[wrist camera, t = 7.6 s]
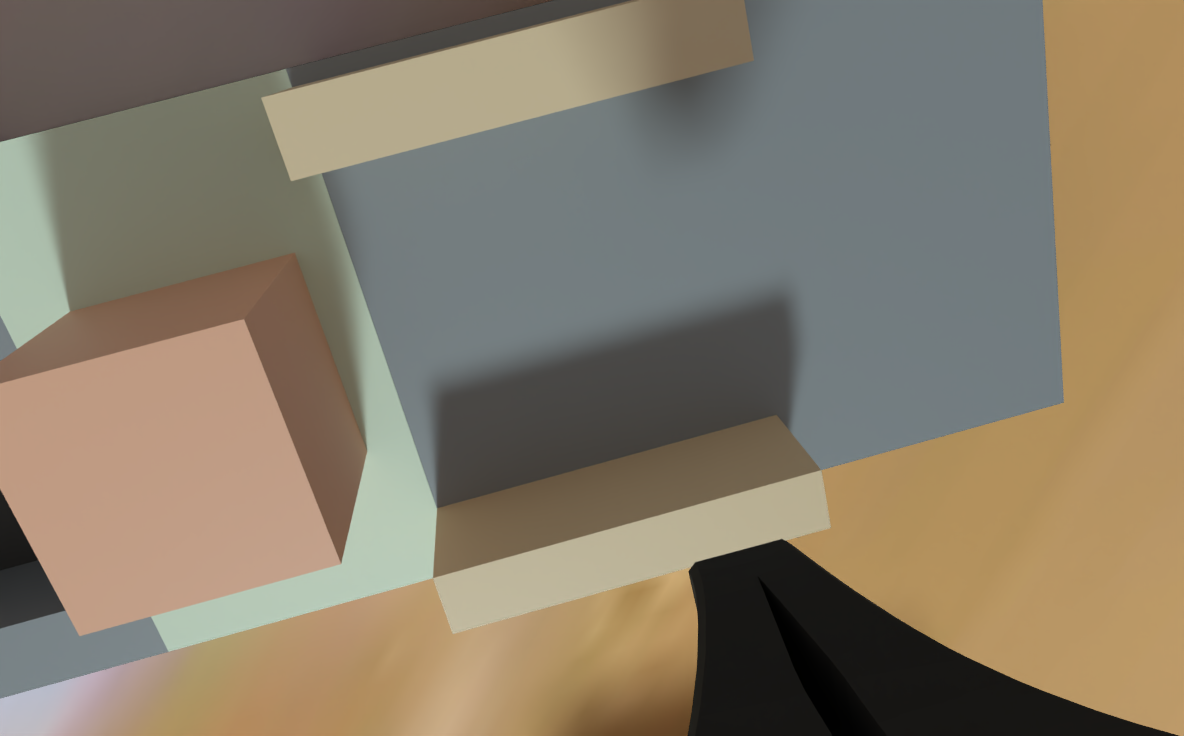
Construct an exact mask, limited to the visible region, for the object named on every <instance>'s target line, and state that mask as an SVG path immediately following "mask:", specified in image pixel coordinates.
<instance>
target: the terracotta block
mask: <svg viewBox="0 0 1184 736" xmlns="http://www.w3.org/2000/svg"><path fill="white" fill-rule="evenodd" d="M366 455H367V449H366V447H365V444H364V441H363V438H362V436H361V433H360V430H359V427H358V425H357V422H356V419H355V416H354V414H353V411H352V408H351V405H350V403H349V400H348V397H347V395H346V392H345V389H344V386H343V384H342V381H341V378H340V375H339V373H338V370H337V367H336V364H335V362H334V359H333V356H332V353H331V351H330V348H329V345H328V342H327V340H326V337H325V334H324V332H323V329H322V326H321V323H320V321H319V318H318V315H317V312H316V310H315V307H314V304H313V301H312V299H311V296H310V293H309V290H308V288H307V285H306V282H305V279H304V277H303V274H302V271H301V269H300V266H299V263H298V260H297V258H296V255H295V253H292V254H288V255H284V256H280V257H276V258H273V259H269V260H265V261H261V262H257V263H253V264H250V265H246V266H242V267H238V268H234V269H231V270H227V271H223V272H219V273H215V274H211V275H208V276H204V277H200V278H196V279H192V280H189V281H185V282H181V283H177V284H173V285H170V286H166V287H162V288H158V289H154V290H150V291H147V292H143V293H139V294H135V295H131V296H128V297H124V298H120V299H116V300H112V301H108V302H105V303H101V304H97V305H93V306H89V307H86V308H82V309H78V310H74V311H70V312H69V313H67V314H66V315H64V316H63V317H62V318H60V319H59V320H57V321H56V322H55V323H53V324H52V325H50V326H49V327H48V328H46V329H45V330H43V331H42V332H40V333H39V334H38V335H36V336H35V337H33V338H32V339H31V340H29V341H28V342H26V343H25V344H24V345H22V346H21V347H19V348H18V349H17V350H15V351H14V352H12V353H11V354H10V355H8V356H7V357H5V358H4V359H3V360H1V361H0V490H1V491H2V493H3V495H4V497H5V499H6V501H7V503H8V504H9V506H10V508H11V510H12V512H13V514H14V516H15V517H16V519H17V521H18V523H19V525H20V527H21V529H22V530H23V532H24V534H25V536H26V538H27V540H28V542H29V543H30V545H31V547H32V549H33V551H34V553H35V555H36V556H37V558H38V560H39V562H40V564H41V566H42V568H43V569H44V571H45V573H46V575H47V577H48V579H49V581H50V582H51V584H52V586H53V588H54V590H55V592H56V594H57V595H58V597H59V599H60V601H61V603H62V605H63V607H64V608H65V610H66V612H67V614H68V616H69V618H70V620H71V621H72V623H73V625H74V627H75V629H76V631H77V633H78V634H79V636H82V635H86V634H89V633H93V632H97V631H100V630H104V629H107V628H111V627H115V626H118V625H122V624H126V623H129V622H133V621H136V620H140V619H144V618H147V617H151V616H155V615H158V614H162V613H166V612H169V611H173V610H176V609H180V608H184V607H187V606H191V605H195V604H198V603H202V602H205V601H209V600H213V599H216V598H220V597H224V596H227V595H231V594H234V593H238V592H242V591H245V590H249V589H253V588H256V587H260V586H264V585H267V584H271V583H274V582H278V581H282V580H285V579H289V578H293V577H296V576H300V575H303V574H307V573H311V572H314V571H318V570H322V569H325V568H329V567H333V566H336V565H340V564H341V563H342V558H343V554H344V550H345V545H346V541H347V537H348V532H349V528H350V524H351V520H352V515H353V511H354V507H355V502H356V498H357V494H358V489H359V485H360V481H361V476H362V472H363V468H364V464H365V459H366Z"/></svg>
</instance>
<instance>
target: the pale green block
mask: <svg viewBox="0 0 1184 736" xmlns="http://www.w3.org/2000/svg"><path fill="white" fill-rule="evenodd" d="M289 88H292V85H291V83H290V80H289V77H288V74H287V71H286V69H284V70H280V71H276V72H272V73H268V74H264V75H260V76H256V77H252V78H248V79H244V80H241V81H237V82H233V83H229V84H225V85H221V86H217V87H213V88H209V89H205V90H202V91H198V92H194V93H190V94H186V95H182V96H178V97H174V98H170V99H166V100H162V101H159V102H155V103H151V104H147V105H143V106H139V107H135V108H131V109H127V110H123V111H119V112H116V113H112V114H108V115H104V116H100V117H96V118H92V119H88V120H84V121H80V122H76V123H73V124H69V125H65V126H61V127H57V128H53V129H49V130H45V131H41V132H37V133H33V134H30V135H26V136H22V137H18V138H14V139H10V140H6V141H2V142H0V316H1V318H2V320H3V322H4V324H5V326H6V328H7V330H8V332H9V334H10V336H11V338H12V340H13V342H14V344H15V346H16V348H17V349H18V348H19V347H21V346H22V345H24V344H25V343H26V342H28V341H29V340H31V339H32V338H33V337H35V336H36V335H38V334H39V333H40V332H42V331H43V330H45V329H46V328H48V327H49V326H50V325H52V324H53V323H55V322H56V321H57V320H59V319H60V318H62V317H63V316H64V315H66V314H67V313H69V312H70V311H74V310H78V309H82V308H86V307H89V306H93V305H97V304H101V303H105V302H108V301H112V300H116V299H120V298H124V297H128V296H131V295H135V294H139V293H143V292H147V291H150V290H154V289H158V288H162V287H166V286H170V285H173V284H177V283H181V282H185V281H189V280H192V279H196V278H200V277H204V276H208V275H211V274H215V273H219V272H223V271H227V270H231V269H234V268H238V267H242V266H246V265H250V264H253V263H257V262H261V261H265V260H269V259H273V258H276V257H280V256H284V255H288V254H292V253H295V255H296V258H297V260H298V263H299V266H300V269H301V271H302V274H303V277H304V279H305V282H306V285H307V288H308V290H309V293H310V296H311V299H312V301H313V304H314V307H315V310H316V312H317V315H318V318H319V321H320V323H321V326H322V329H323V332H324V334H325V337H326V340H327V342H328V345H329V348H330V351H331V353H332V356H333V359H334V362H335V364H336V367H337V370H338V373H339V375H340V378H341V381H342V384H343V386H344V389H345V392H346V395H347V397H348V400H349V403H350V405H351V408H352V411H353V414H354V416H355V419H356V422H357V425H358V427H359V430H360V433H361V436H362V438H363V441H364V444H365V447H366V449H367V455H366V459H365V464H364V468H363V472H362V476H361V481H360V485H359V489H358V494H357V498H356V502H355V507H354V511H353V515H352V520H351V524H350V528H349V532H348V537H347V541H346V545H345V550H344V554H343V558H342V563H341V564H340V565H336V566H333V567H329V568H325V569H322V570H318V571H314V572H311V573H307V574H303V575H300V576H296V577H293V578H289V579H285V580H282V581H278V582H274V583H271V584H267V585H264V586H260V587H256V588H253V589H249V590H245V591H242V592H238V593H234V594H231V595H227V596H224V597H220V598H216V599H213V600H209V601H205V602H202V603H198V604H195V605H191V606H187V607H184V608H180V609H176V610H173V611H169V612H166V613H162V614H158V615H155V616H151V618H152V620H153V622H154V624H155V626H156V628H157V630H158V632H159V634H160V636H161V638H162V640H163V642H164V644H165V646H166V648H167V650H168V652H169V651H173V650H176V649H180V648H184V647H187V646H191V645H194V644H198V643H201V642H205V641H209V640H212V639H216V638H219V637H223V636H227V635H230V634H234V633H237V632H241V631H245V630H248V629H252V628H255V627H259V626H263V625H266V624H270V623H273V622H277V621H281V620H284V619H288V618H291V617H295V616H299V615H302V614H306V613H309V612H313V611H316V610H320V609H324V608H327V607H331V606H334V605H338V604H342V603H345V602H349V601H352V600H356V599H360V598H363V597H367V596H370V595H374V594H378V593H381V592H385V591H388V590H392V589H396V588H399V587H403V586H406V585H410V584H414V583H417V582H421V581H424V580H428V579H431V578H433V568H434V551H435V534H436V517H437V507H436V504H435V501H434V498H433V495H432V492H431V489H430V487H429V484H428V481H427V478H426V475H425V472H424V469H423V466H422V463H421V460H420V457H419V455H418V452H417V449H416V446H415V443H414V440H413V437H412V434H411V431H410V428H409V425H408V423H407V420H406V417H405V414H404V411H403V408H402V405H401V402H400V399H399V396H398V393H397V391H396V388H395V385H394V382H393V379H392V376H391V373H390V370H389V367H388V364H387V362H386V359H385V356H384V353H383V350H382V347H381V344H380V341H379V338H378V335H377V332H376V330H375V327H374V324H373V321H372V318H371V315H370V312H369V309H368V306H367V303H366V300H365V298H364V295H363V292H362V289H361V286H360V283H359V280H358V277H357V274H356V271H355V269H354V266H353V263H352V260H351V257H350V254H349V251H348V248H347V245H346V242H345V239H344V237H343V234H342V231H341V228H340V225H339V222H338V219H337V216H336V213H335V210H334V207H333V205H332V202H331V199H330V196H329V193H328V190H327V187H326V184H325V181H324V178H323V176H322V173H321V174H317V175H313V176H309V177H305V178H302V179H298V180H294V181H291V180H290V177H289V174H288V171H287V169H286V166H285V163H284V160H283V157H282V155H281V152H280V149H279V146H278V143H277V141H276V138H275V135H274V132H273V129H272V127H271V124H270V121H269V118H268V115H267V113H266V110H265V107H264V104H263V101H262V99H261V98H262V97H265V96H268V95H271V94H274V93H277V92H280V91H283V90H286V89H289Z"/></svg>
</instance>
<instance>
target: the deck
mask: <svg viewBox="0 0 1184 736" xmlns="http://www.w3.org/2000/svg"><path fill="white" fill-rule="evenodd" d="M286 71H287V74H288V77H289V80H290V83H291V85H292V88H289V89H286V90H283V91H280V92H277V93H274V94H271V95H268V96H265V97H262V98H261V99H262V101H263V104H264V107H265V110H266V113H267V115H268V118H269V121H270V124H271V127H272V129H273V132H274V135H275V138H276V141H277V143H278V146H279V149H280V152H281V155H282V157H283V160H284V163H285V166H286V169H287V171H288V174H289V177H290V180H291V181H294V180H298V179H302V178H305V177H309V176H313V175H317V174H321V173H322V176H323V178H324V181H325V184H326V187H327V190H328V193H329V196H330V199H331V202H332V205H333V207H334V210H335V213H336V216H337V219H338V222H339V225H340V228H341V231H342V234H343V237H344V239H345V242H346V245H347V248H348V251H349V254H350V257H351V260H352V263H353V266H354V269H355V271H356V274H357V277H358V280H359V283H360V286H361V289H362V292H363V295H364V298H365V300H366V303H367V306H368V309H369V312H370V315H371V318H372V321H373V324H374V327H375V330H376V332H377V335H378V338H379V341H380V344H381V347H382V350H383V353H384V356H385V359H386V362H387V364H388V367H389V370H390V373H391V376H392V379H393V382H394V385H395V388H396V391H397V393H398V396H399V399H400V402H401V405H402V408H403V411H404V414H405V417H406V420H407V423H408V425H409V428H410V431H411V434H412V437H413V440H414V443H415V446H416V449H417V452H418V455H419V457H420V460H421V463H422V466H423V469H424V472H425V475H426V478H427V481H428V484H429V487H430V489H431V492H432V495H433V498H434V501H435V504H436V507H437V517H436V534H435V551H434V568H433V580H434V583H435V585H436V588H437V591H438V594H439V597H440V599H441V602H442V605H443V608H444V611H445V613H446V616H447V619H448V622H449V625H450V627H451V630H452V633H453V634H454V633H458V632H461V631H465V630H469V629H472V628H476V627H479V626H483V625H486V624H490V623H493V622H497V621H501V620H504V619H508V618H511V617H515V616H518V615H522V614H526V613H529V612H533V611H536V610H540V609H543V608H547V607H550V606H554V605H558V604H561V603H565V602H568V601H572V600H575V599H579V598H582V597H586V596H590V595H593V594H597V593H600V592H604V591H607V590H611V589H615V588H618V587H622V586H625V585H629V584H632V583H636V582H639V581H643V580H647V579H650V578H654V577H657V576H661V575H664V574H668V573H672V572H675V571H679V570H682V569H686V568H689V567H692V566H693V565H694V563H695V562H698V561H701V560H705V559H709V558H713V557H716V556H720V555H724V554H728V553H731V552H735V551H739V550H742V549H746V548H750V547H754V546H757V545H761V544H765V543H769V542H772V541H776V540H780V539H783V540H785V541H786V540H789V539H793V538H796V537H800V536H803V535H807V534H810V533H814V532H818V531H821V530H825V529H828V528H831V526H830V520H829V514H828V507H827V501H826V495H825V489H824V483H823V477H822V471H821V470H823V469H827V468H830V467H834V466H838V465H841V464H845V463H848V462H852V461H855V460H859V459H863V458H866V457H870V456H873V455H877V454H881V453H884V452H888V451H891V450H895V449H899V448H902V447H906V446H909V445H913V444H917V443H920V442H924V441H927V440H931V439H935V438H938V437H942V436H945V435H949V434H953V433H956V432H960V431H963V430H967V429H970V428H974V427H978V426H981V425H985V424H988V423H992V422H996V421H999V420H1003V419H1006V418H1010V417H1014V416H1017V415H1021V414H1024V413H1028V412H1032V411H1035V410H1039V409H1042V408H1046V407H1050V406H1053V405H1057V404H1060V403H1064V399H1063V380H1062V361H1061V342H1060V323H1059V304H1058V286H1057V267H1056V248H1055V229H1054V210H1053V191H1052V173H1051V154H1050V135H1049V116H1048V97H1047V79H1046V60H1045V41H1044V22H1043V3H1042V0H553V1H549V2H545V3H541V4H537V5H533V6H530V7H526V8H522V9H518V10H514V11H510V12H506V13H502V14H498V15H494V16H490V17H487V18H483V19H479V20H475V21H471V22H467V23H463V24H459V25H455V26H451V27H447V28H444V29H440V30H436V31H432V32H428V33H424V34H420V35H416V36H412V37H408V38H405V39H401V40H397V41H393V42H389V43H385V44H381V45H377V46H373V47H369V48H365V49H362V50H358V51H354V52H350V53H346V54H342V55H338V56H334V57H330V58H326V59H322V60H319V61H315V62H311V63H307V64H303V65H299V66H295V67H291V68H287V69H286ZM15 350H17V348H16V346H15V344H14V342H13V340H12V338H11V336H10V334H9V332H8V330H7V328H6V326H5V324H4V322H3V320H2V318H1V316H0V361H1V360H3V359H4V358H5V357H7V356H8V355H10V354H11V353H12V352H14V351H15ZM165 652H168V650H167V648H166V646H165V644H164V642H163V640H162V638H161V636H160V634H159V632H158V630H157V628H156V626H155V624H154V622H153V620H152V618H151V617H147V618H144V619H140V620H136V621H133V622H129V623H126V624H122V625H118V626H115V627H111V628H107V629H104V630H100V631H97V632H93V633H89V634H86V635H82V636H79V634H78V633H77V631H76V629H75V627H74V625H73V623H72V621H71V620H70V618H69V616H68V614H67V612H66V610H65V608H64V607H63V605H62V603H61V601H60V599H59V597H58V595H57V594H56V592H55V590H54V588H53V586H52V584H51V582H50V581H49V579H48V577H47V575H46V573H45V571H44V569H43V568H42V566H41V564H40V562H39V560H38V558H37V556H36V555H35V553H34V551H33V549H32V547H31V545H30V543H29V542H28V540H27V538H26V536H25V534H24V532H23V530H22V529H21V527H20V525H19V523H18V521H17V519H16V517H15V516H14V514H13V512H12V510H11V508H10V506H9V504H8V503H7V501H6V499H5V497H4V495H3V493H2V491H1V490H0V698H4V697H7V696H11V695H14V694H18V693H22V692H25V691H29V690H32V689H36V688H40V687H43V686H47V685H50V684H54V683H58V682H61V681H65V680H68V679H72V678H76V677H79V676H83V675H86V674H90V673H94V672H97V671H101V670H104V669H108V668H112V667H115V666H119V665H122V664H126V663H129V662H133V661H137V660H140V659H144V658H147V657H151V656H155V655H158V654H162V653H165Z"/></svg>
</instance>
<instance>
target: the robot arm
mask: <svg viewBox="0 0 1184 736" xmlns="http://www.w3.org/2000/svg"><path fill="white" fill-rule="evenodd" d="M689 576H690V580H691V585H692V589H693V594H694V598H695V603H696V607H697V612H698V657H697V672H696V681H695V689H694V698H693V706H692V713H691V719H690V725H689V731H688V736H1178V735H1175V734H1171V733H1168V732H1164V731H1161V730H1157V729H1153V728H1150V727H1146V726H1143V725H1139V724H1136V723H1133V722H1130V721H1127V720H1124V719H1120V718H1117V717H1114V716H1111V715H1108V714H1105V713H1102V712H1099V711H1096V710H1093V709H1090V708H1088V707H1085V706H1082V705H1079V704H1077V703H1074V702H1071V701H1069V700H1066V699H1063V698H1060V697H1058V696H1055V695H1052V694H1050V693H1047V692H1044V691H1042V690H1039V689H1037V688H1034V687H1032V686H1029V685H1027V684H1025V683H1022V682H1020V681H1017V680H1015V679H1013V678H1010V677H1008V676H1006V675H1004V674H1002V673H1000V672H997V671H995V670H993V669H991V668H989V667H987V666H984V665H982V664H980V663H978V662H976V661H974V660H971V659H969V658H967V657H965V656H963V655H961V654H959V653H957V652H955V651H953V650H951V649H949V648H947V647H946V646H944V645H942V644H940V643H938V642H937V641H935V640H933V639H931V638H930V637H928V636H926V635H924V634H923V633H921V632H919V631H917V630H916V629H914V628H912V627H911V626H909V625H907V624H906V623H904V622H902V621H901V620H899V619H897V618H896V617H894V616H893V615H891V614H890V613H888V612H886V611H885V610H883V609H882V608H880V607H879V606H877V605H876V604H874V603H873V602H871V601H870V600H868V599H866V598H865V597H863V596H862V595H860V594H859V593H857V592H856V591H854V590H853V589H852V588H850V587H849V586H847V585H846V584H844V583H843V582H842V581H840V580H839V579H837V578H836V577H835V576H833V575H832V574H830V573H829V572H828V571H826V570H825V569H823V568H822V567H821V566H819V565H818V564H817V563H815V562H814V561H813V560H811V559H810V558H809V557H807V556H806V555H805V554H803V553H802V552H801V551H799V550H798V549H797V548H795V547H794V546H793V545H792V544H790V543H788V542H787V541H785V540H783V539H780V540H776V541H772V542H769V543H765V544H761V545H757V546H754V547H750V548H746V549H742V550H739V551H735V552H731V553H728V554H724V555H720V556H716V557H713V558H709V559H705V560H701V561H698V562H695V563H694V565H693V566H692V567H691V569H690V570H689Z"/></svg>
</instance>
